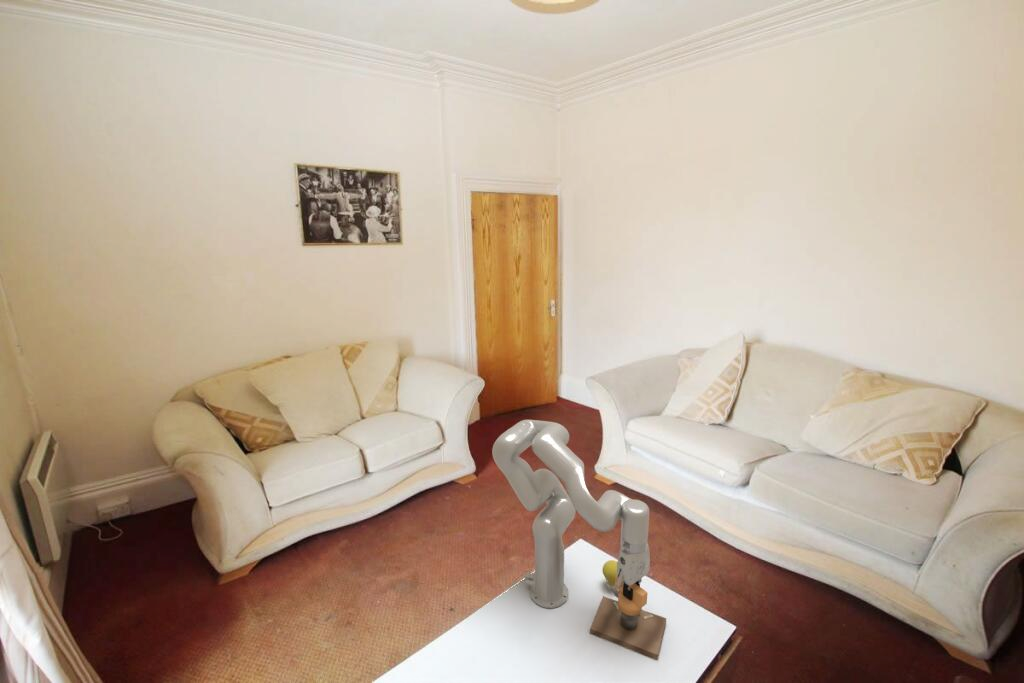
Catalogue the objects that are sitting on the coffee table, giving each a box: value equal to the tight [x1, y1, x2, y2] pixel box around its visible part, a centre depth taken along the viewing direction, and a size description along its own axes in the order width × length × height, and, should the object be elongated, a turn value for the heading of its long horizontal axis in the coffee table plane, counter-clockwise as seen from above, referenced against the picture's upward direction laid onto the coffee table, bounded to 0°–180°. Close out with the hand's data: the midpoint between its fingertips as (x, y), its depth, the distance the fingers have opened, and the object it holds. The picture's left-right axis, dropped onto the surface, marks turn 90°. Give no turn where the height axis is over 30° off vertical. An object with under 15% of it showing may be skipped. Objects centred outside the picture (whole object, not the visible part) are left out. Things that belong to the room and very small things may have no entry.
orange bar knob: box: [613, 575, 648, 616], centre depth 141 cm, size 11×7×8 cm, turn 38°
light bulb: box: [602, 559, 618, 591], centre depth 159 cm, size 7×7×10 cm
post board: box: [589, 595, 667, 661], centre depth 143 cm, size 20×14×8 cm
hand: (630, 594), depth 140 cm, fingers closed on orange bar knob, 2 cm apart
